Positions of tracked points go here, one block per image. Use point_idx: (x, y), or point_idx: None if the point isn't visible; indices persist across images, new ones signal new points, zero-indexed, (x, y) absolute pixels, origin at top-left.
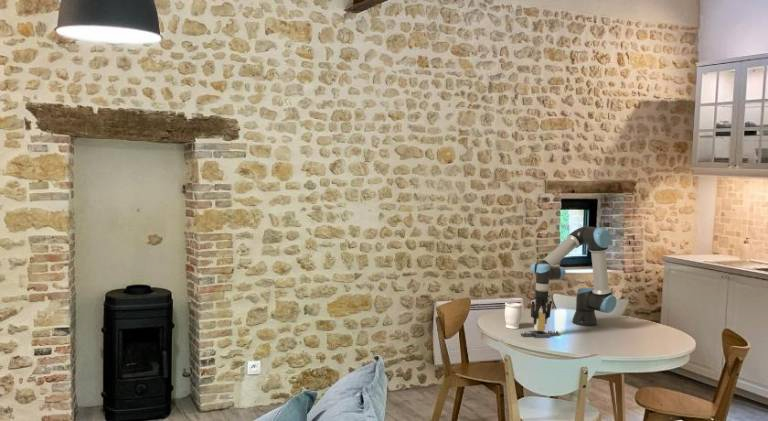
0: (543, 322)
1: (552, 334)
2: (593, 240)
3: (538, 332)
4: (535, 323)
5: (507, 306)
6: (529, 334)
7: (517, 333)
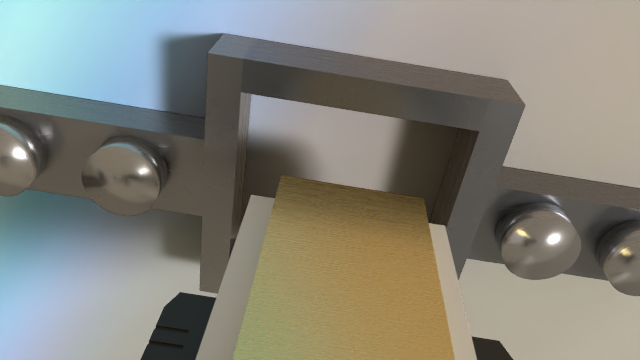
0: (289, 307)
1: (109, 117)
2: None
3: None
4: (486, 352)
5: None
6: (573, 198)
7: (553, 355)
